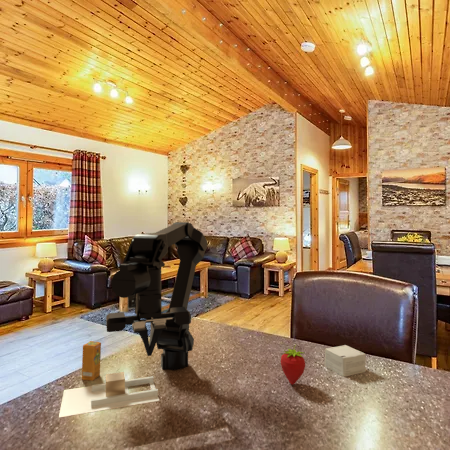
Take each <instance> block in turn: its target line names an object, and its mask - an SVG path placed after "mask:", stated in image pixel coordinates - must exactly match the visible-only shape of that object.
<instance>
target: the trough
mask: <svg viewBox="0 0 450 450" xmlns="http://www.w3.org/2000/svg"><path fill="white" fill-rule="evenodd" d="M154 381H155V380H154V376H153V375H151V376H145V377H139V378H132V379H125V394H121V395H115V396H108V397H106V382H104V383H97V384H91V385H90V386H89V385H87V386H84V387H76V388H70V389H69V388H68V389H64V390H63V394H62V398H61V405H60V408H59V415H58V418H65V417H71V416H77V415H83V414H89V413H94V412H101V411H107V410H113V409H114V410H115V409H118V408H125V407H131V406H134V405H135V406H136V405H142V404H147V403H148V404H149V403H155V402H160V398H159V389H158V388H156V386H155V383H154ZM147 384H149V387H150V389H149V390H148V389H146V390H142V391H134V392H130V391H129V387H134V386H140V385H147Z"/></svg>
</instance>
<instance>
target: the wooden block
mask: <svg viewBox="0 0 450 450" xmlns="http://www.w3.org/2000/svg"><path fill="white" fill-rule="evenodd" d="M125 377H126V376H125V372H124V371H121V372H120V371H119V372H113V373H106V374H105V383H106V397H108V396H115V395H121V394H125V380H126V378H125Z"/></svg>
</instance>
